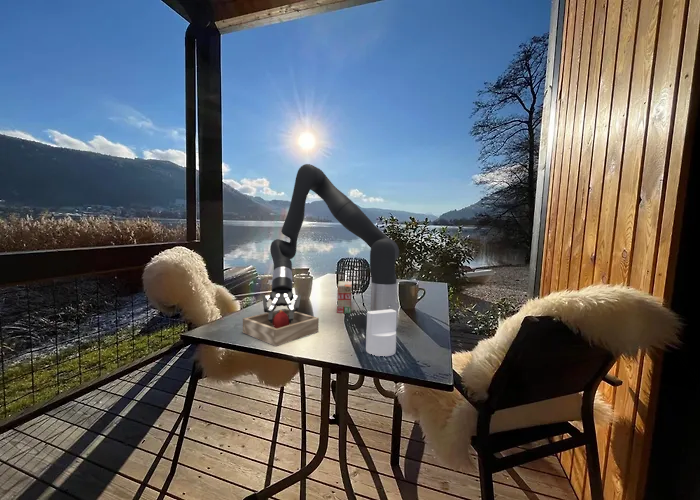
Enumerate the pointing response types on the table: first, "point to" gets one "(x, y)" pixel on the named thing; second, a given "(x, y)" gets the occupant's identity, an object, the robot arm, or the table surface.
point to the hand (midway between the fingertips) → (281, 321)
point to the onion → (280, 319)
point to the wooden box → (277, 336)
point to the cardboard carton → (344, 297)
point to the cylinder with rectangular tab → (381, 332)
